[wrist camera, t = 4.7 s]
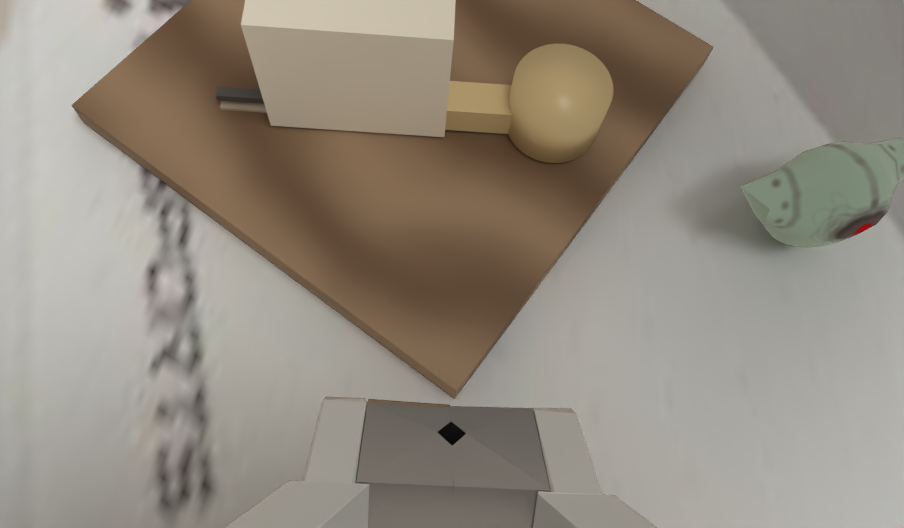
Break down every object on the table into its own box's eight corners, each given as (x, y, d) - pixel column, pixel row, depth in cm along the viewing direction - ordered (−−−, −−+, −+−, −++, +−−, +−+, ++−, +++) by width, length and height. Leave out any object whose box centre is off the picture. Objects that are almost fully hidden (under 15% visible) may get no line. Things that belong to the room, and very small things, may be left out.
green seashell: (836, 175, 38) (922, 97, 32) (878, 248, 37) (977, 181, 30) (693, 219, 36) (753, 147, 30) (731, 296, 35) (803, 237, 29)
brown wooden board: (372, -135, 44) (371, -161, 42) (702, 65, 40) (714, 45, 38) (84, 122, 36) (70, 103, 35) (454, 398, 33) (456, 390, 31)
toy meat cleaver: (595, 86, 37) (636, -17, 30) (598, 166, 35) (642, 75, 29) (227, 60, 36) (188, -51, 30) (212, 140, 35) (168, 41, 28)
